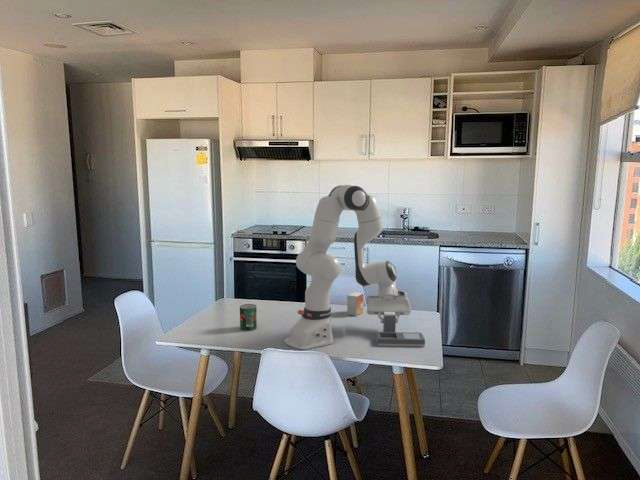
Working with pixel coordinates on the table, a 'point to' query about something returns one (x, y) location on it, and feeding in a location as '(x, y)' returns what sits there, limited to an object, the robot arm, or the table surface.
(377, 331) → the tray
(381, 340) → the gray rectangular base
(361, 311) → the small box
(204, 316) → the table surface
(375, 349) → the table surface
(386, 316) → the plug
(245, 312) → the canned tomato
